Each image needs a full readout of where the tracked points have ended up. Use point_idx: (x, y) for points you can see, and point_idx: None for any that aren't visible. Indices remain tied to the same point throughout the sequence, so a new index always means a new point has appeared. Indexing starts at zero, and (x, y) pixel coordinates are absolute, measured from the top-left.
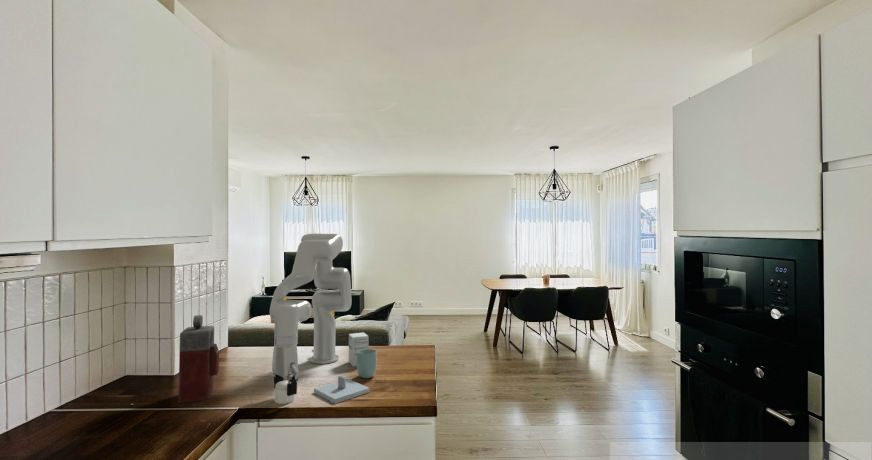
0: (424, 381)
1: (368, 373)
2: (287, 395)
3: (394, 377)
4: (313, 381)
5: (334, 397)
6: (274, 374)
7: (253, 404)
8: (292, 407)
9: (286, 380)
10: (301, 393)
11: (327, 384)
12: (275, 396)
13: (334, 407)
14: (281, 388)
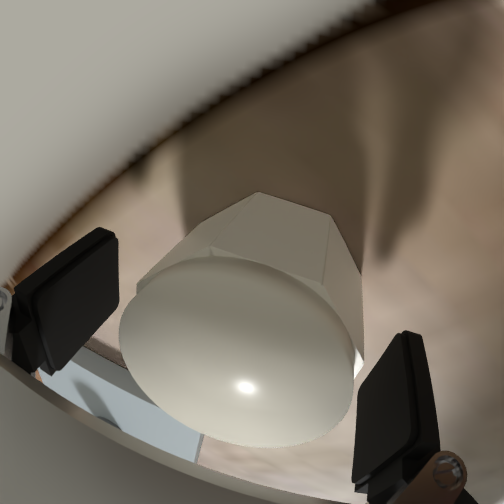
0: None
1: None
2: (102, 228)
3: None
4: (334, 481)
5: None
6: (451, 475)
7: (455, 83)
8: (110, 196)
9: (302, 440)
10: None
11: (192, 457)
12: (306, 229)
13: (13, 286)
14: (169, 273)
